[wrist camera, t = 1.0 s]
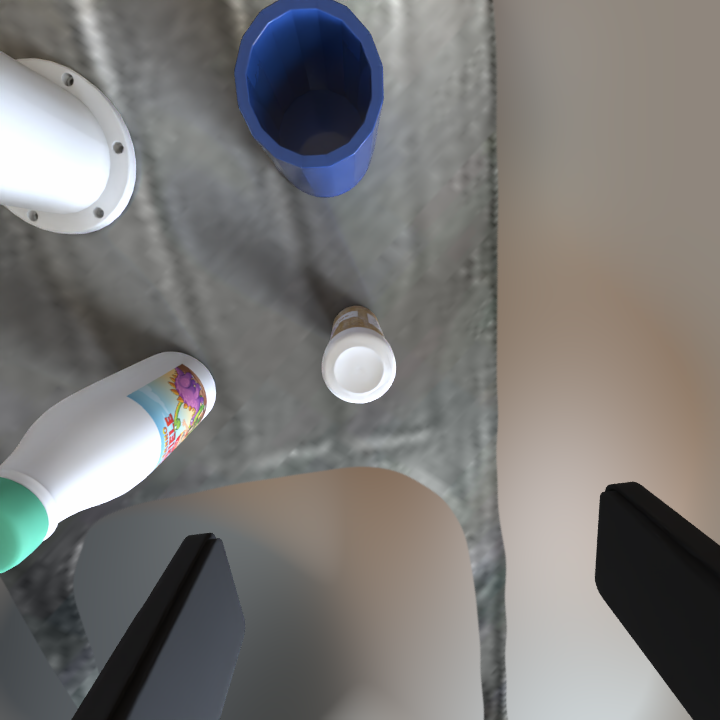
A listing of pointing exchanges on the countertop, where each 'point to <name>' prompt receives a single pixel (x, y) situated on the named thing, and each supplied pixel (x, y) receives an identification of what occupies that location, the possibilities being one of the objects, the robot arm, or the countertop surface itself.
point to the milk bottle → (98, 446)
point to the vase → (311, 92)
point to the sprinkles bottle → (358, 357)
